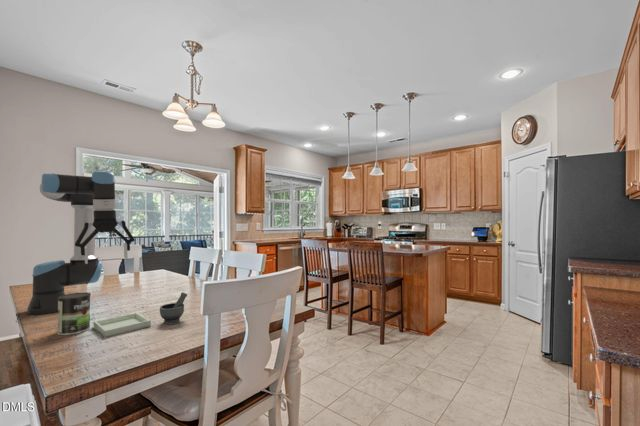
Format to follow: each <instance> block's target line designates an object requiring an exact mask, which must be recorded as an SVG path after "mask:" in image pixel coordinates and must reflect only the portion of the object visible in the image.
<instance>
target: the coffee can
mask: <svg viewBox="0 0 640 426" xmlns="http://www.w3.org/2000/svg"><path fill="white" fill-rule="evenodd" d="M90 318H91V293H90V292H73V293H65V295H62V296H59V297H58V311H57V332H56V334H57V335H59V336H73V335H78V334H81V333H84V332H86V331H89V330H90V328H91V325H90V323H91V322H90V321H91V319H90Z"/></svg>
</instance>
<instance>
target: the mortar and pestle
mask: <svg viewBox="0 0 640 426" xmlns="http://www.w3.org/2000/svg"><path fill="white" fill-rule="evenodd" d="M187 297H188V294H187V293H185V292H181V293H180V295H179V297H178V299H177V301H176V302H173V303H172V302H171V303H166V304H165V303H164V304H163V305H160V306H159V315H160V316H161V318H162V319H163V321H164V323H163V324H165V325H175V324H178V323H179V322H180V320H181V319H180V318H181V317H182V316H183V315H184V311H185V303H184V302H185V300H186V298H187Z"/></svg>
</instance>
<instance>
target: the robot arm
mask: <svg viewBox="0 0 640 426" xmlns="http://www.w3.org/2000/svg"><path fill="white" fill-rule="evenodd" d="M115 182H116V180H115V174H114V172H112V171H93V172H92V173H91V176H87V175H85V176H83V175H71V174H57V173H43V174H42V175H41V184H40V185H39V192H40V194H42V196H44V198H47V199H49V200H53V201H56V202H63V203H70V207H72V208H73V210H74V222H73V223H74V231H73V234H74V236H73V237H74V239H73V256H71V257H70V259H69V262H66V261H65V260H63V259H61V260H60V259H59V260H54V261H53V260H52V261H51V260H50V261H45V262H41V263H39V264H36V265H35V266H33V269H32V275H31V276H32V297H31V298H30V301H29V304H28V306H27V310H26V314H28V315H46V314H51V313H58V297H59V296H62V295H66V293H65V287H70V286H71V287H72V286H79V285H89V284H93V283H94V284H95V283H97V282H98V281H99V279H100V278H101V274H102V265H103V262H102V260H100V259H99V256H97V255H96V254H95V252H96V250H95V249H96V248H95V246H96V245H95V242H96V235H98V233H101V234H102V233H111V232H113V233H115V234H116V235H117V236H118V237H119V238H120V239H122V240H123V241H124V243H123V254H124V255H123V258H124V259H125V260H127V259H128V252H129V251H130V250H131V243H132V242H133V243H134V242H135V238H134V236H133V235H132V233H131V232H130V229H128V227H127V225H126V221H125V220H123V219H122V220H120V221H117V211H116V210H115V209H117V208H116V188H115V187H116V186H115V184H116V183H115ZM118 225H119V226H120V227H121V228H122V229H123V231H124V232H125V234H126V235H127V237H128V238H127V237H126V236H124V235H123V233H121V232H120V231H119V230H118V229H117V228H116V227H117V226H118Z"/></svg>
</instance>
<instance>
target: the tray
mask: <svg viewBox="0 0 640 426" xmlns="http://www.w3.org/2000/svg"><path fill="white" fill-rule="evenodd" d="M151 322H152V321H151V319H150V318H147V317H146V316H144V315H142V314H140V313H139V312H133V313H129V314H123V315H119V316H115V317H114V316H113V317H108V318H104V319H101V320H95V321H93V329H94V330H95V331H97V332H98V333H99V334H100V335H102V337H103V338H111V337H113V336H114V337H115V336H118V335H121V334H127V333H129V332H134V331H138V330H141V329H146V328H150V327H151V326H152V325H151V324H152V323H151Z"/></svg>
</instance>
